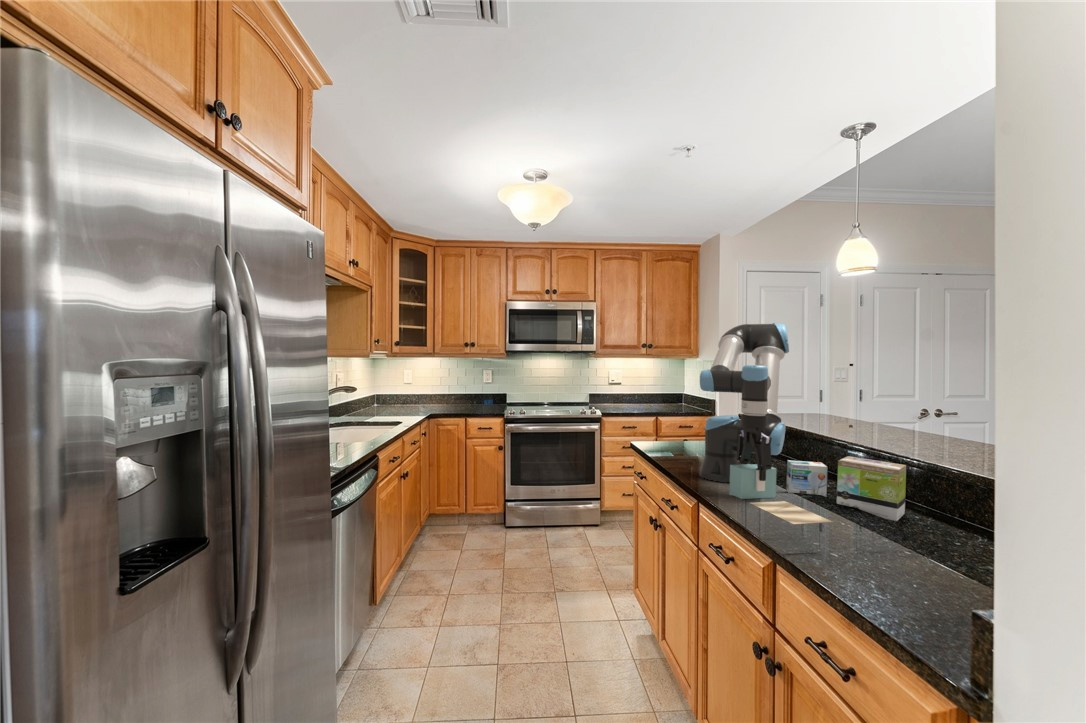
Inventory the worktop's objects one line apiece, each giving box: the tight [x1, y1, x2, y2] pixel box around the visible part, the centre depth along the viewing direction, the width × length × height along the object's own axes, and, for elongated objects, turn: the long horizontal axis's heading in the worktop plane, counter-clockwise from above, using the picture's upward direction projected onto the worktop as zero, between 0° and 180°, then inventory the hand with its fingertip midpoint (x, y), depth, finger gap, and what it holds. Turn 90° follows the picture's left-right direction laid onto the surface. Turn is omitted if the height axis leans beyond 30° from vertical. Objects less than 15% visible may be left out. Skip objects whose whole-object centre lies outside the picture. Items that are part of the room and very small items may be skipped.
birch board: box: [750, 500, 834, 525], centre depth 129 cm, size 18×12×2 cm, turn 11°
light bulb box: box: [785, 459, 828, 498], centre depth 151 cm, size 11×7×11 cm, turn 74°
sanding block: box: [728, 463, 778, 500], centre depth 145 cm, size 6×12×10 cm, turn 101°
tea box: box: [836, 455, 907, 522], centre depth 135 cm, size 15×10×15 cm
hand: (752, 487), depth 145 cm, fingers open, 6 cm apart
